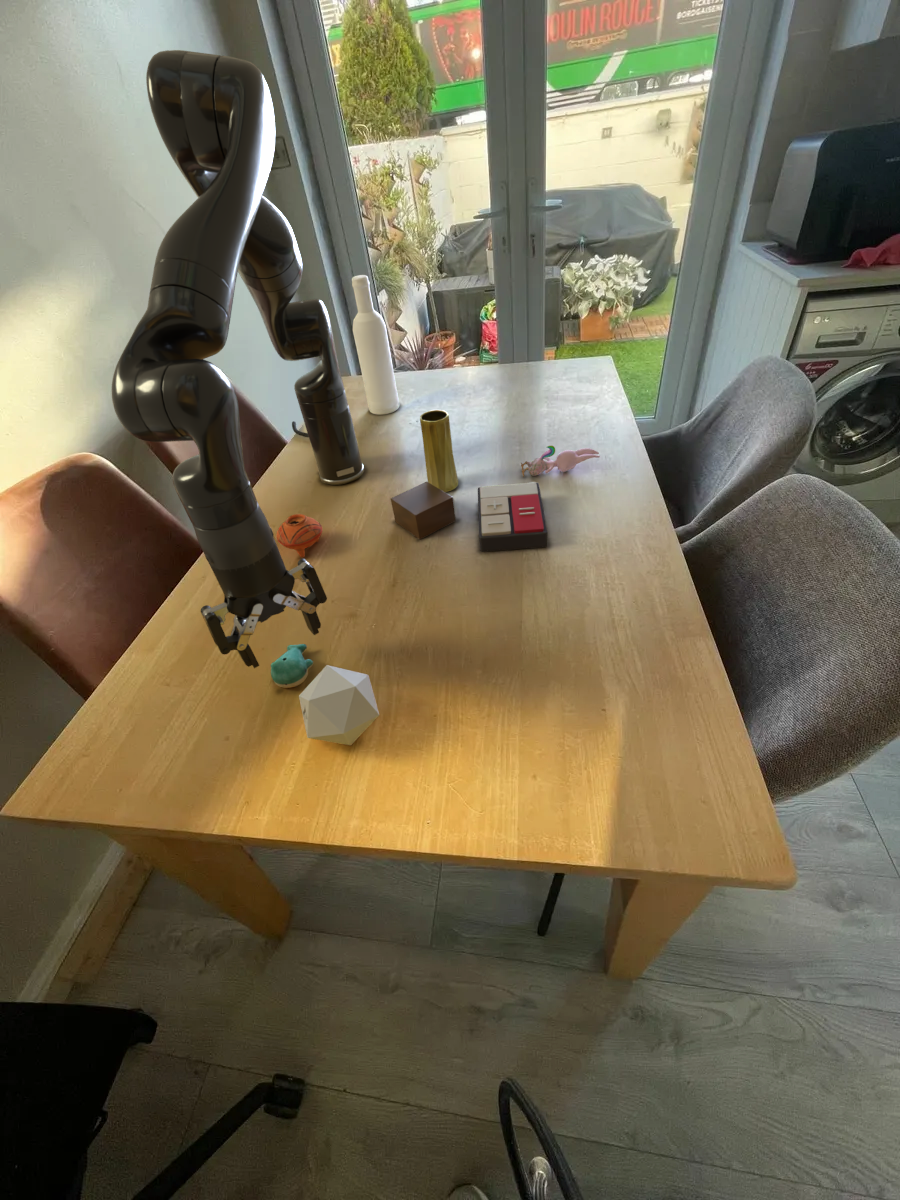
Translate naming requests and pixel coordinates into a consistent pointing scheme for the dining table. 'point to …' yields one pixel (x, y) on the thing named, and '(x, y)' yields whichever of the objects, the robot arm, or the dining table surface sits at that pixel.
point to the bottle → (373, 351)
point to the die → (338, 705)
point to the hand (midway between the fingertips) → (284, 647)
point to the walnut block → (423, 509)
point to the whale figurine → (291, 667)
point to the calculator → (511, 517)
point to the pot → (299, 533)
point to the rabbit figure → (558, 460)
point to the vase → (438, 450)
